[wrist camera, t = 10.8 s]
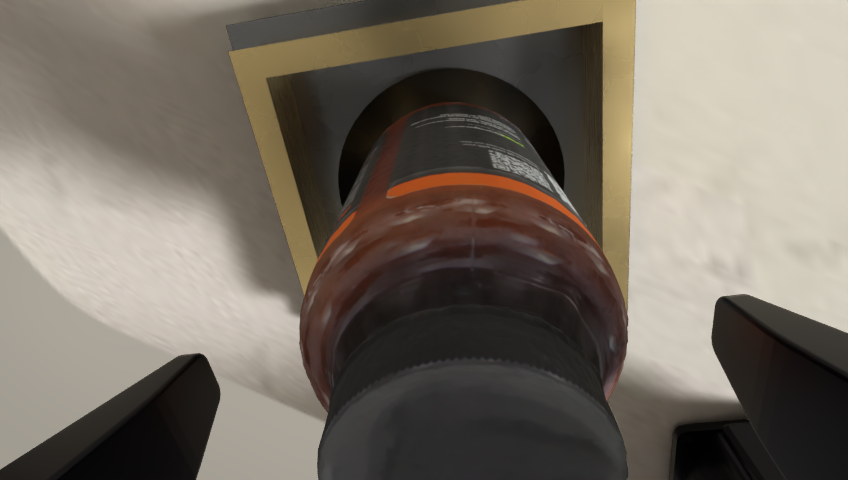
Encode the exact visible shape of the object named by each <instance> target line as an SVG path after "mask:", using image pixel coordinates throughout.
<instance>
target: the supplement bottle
mask: <svg viewBox="0 0 848 480" xmlns="http://www.w3.org/2000/svg"><path fill="white" fill-rule="evenodd" d="M627 326H628V316H627V311H626V308H625V301H624V298H623V295H622V292H621V289H620V286H619V284H618V281H617V279H616V277H615V274H614V272H613V269H612V267H611V266H610V264H609V262H608V260H607V258H606V256H605V255H604V253H603V251H602V250H601V248H600V246H599V245H598V243H597V242H596V241H595V239H594V237H593V235H592V234H591V232H590V231H589V229H588V228H587V226H586V225H585V223H584V222H583V221H582V219H581V218H580V216H579V215H578V213H577V212H576V210H575V209H574V207H573V206H572V204H571V203H570V201H569V200H568V198H567V197H566V195H565V193H564V192H563V190H562V189H561V188H560V186H559V185H558V183H557V182H556V180H555V179H554V177H553V176H552V174H551V173H550V171H549V170H548V168H547V167H546V165H545V164H544V162H543V161H542V159H541V158H540V156H539V155H538V153H537V152H536V150H535V149H534V147H533V146H532V144H531V143H530V141H529V140H528V139H527V138H526V137H525V136H524V135H523V134H522V132H521V131H520V129H519V128H517V127H516V126H515V125H514V124H512V123H511V122H510V121H508V120H507V119H506V118H504V117H503V116H501V115H499V114H497V113H496V112H494V111H491V110H489V109H487V108H484V107H481V106H478V105H474V104H467V103H462V102H442V103H437V104H432V105H428V106H425V107H422V108H420V109H417V110H415V111H413V112H410V113H409V114H407V115H405V116H403V117H402V118H400V119H399V120H398V121H396V122H395V123H394V124H392V125H391V126H390V127H389V128H387V129H386V130H385V132H384V133H383V134H382V135H381V136H380V137H379V139H378V140H377V141H376V143H375V144H374V146H373V148H372V149H371V151H370V152H369V153H368V156H367V158H366V160H365V162H364V164H363V167H362V169H361V171H360V172H359V175H358V176H357V179H356V181H355V183H354V185H353V187H352V189H351V191H350V193H349V195H348V197H347V199H346V201H345V203H344V206H343V208H342V210H341V212H340V214H339V216H338V218H337V220H336V222H335V224H334V226H333V228H332V230H331V231H330V234H329V236H328V238H327V239H326V241H325V244H324V247H323V250H322V251H321V255H320V257H319V258H318V260H317V263H316V265H315V267H314V269H313V272H312V274H311V277H310V279H309V282H308V285H307V288H306V292H305V297H304V300H303V304H302V308H301V314H300V343H299V344H300V349H301V354H302V359H303V366H304V368H305V370H306V374H307V376H308V378H309V380H310V382H311V385H312V387H313V389H314V392H315V394H316V396H317V398H318V399H319V401H320V403H321V404H322V406H323V407H324V408H325V410H326V411H327V412H328V416H327V420H326V424H325V428H324V431H323V434H322V438H321V441H320V445H319V448H318V462H317V466H318V467H317V468H318V478H319V480H626V479H627V478H628V468H627V463H626V449H625V446H624V442H623V439H622V436H621V433H620V431H619V428H618V426H617V423H616V421H615V418H614V416H613V414H612V412H611V409H610V407H609V405H608V403H607V400H608V399H609V397H610V395H611V393H612V391H613V390H614V388H615V385H616V383H617V381H618V379H619V375H620V373H621V371H622V368H623V364H624V360H625V357H626V349H627V342H628V331H627Z"/></svg>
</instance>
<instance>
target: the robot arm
mask: <svg viewBox="0 0 848 480" xmlns="http://www.w3.org/2000/svg"><path fill="white" fill-rule="evenodd" d="M711 339H712V346H713V349H714V352H715V354H716V356H717V358H718V360H719V362H720V364H721V366H722V368H723V370H724V372H725V374H726V376H727V378H728V380H729V382H730V384H731V386H732V388H733V390H734V392H735V394H736V396H737V398H738V400H739V402H740V403H741V405H742V407H743V409H744V411H745V413H746V415H747V417H748V419H749V420H738V421H725V422H713V423H701V424H688V425H682V426H679V427H677V428H676V429H675V430H674V432H673V441H672V452H671V464H670V475H669V480H848V333H846V332H843V331H841V330H838V329H835V328H833V327H830V326H828V325H825V324H822V323H820V322H817V321H815V320H812V319H810V318H807V317H804V316H802V315H799V314H797V313H794V312H791V311H789V310H786V309H784V308H781V307H778V306H776V305H773V304H771V303H768V302H765V301H763V300H760V299H758V298H755V297H753V296H750V295H746V294H740V295H731V296H722V297H720V298H719V299H718V300H717V302H716V305H715V312H714V320H713V328H712V338H711ZM219 401H220V388H219V385H218V383H217V380H216V378H215V375H214V373H213V371H212V369H211V366H210V364H209V362H208V360H207V358H206V357H205V356H204V355H203V354H200V353H196V354H186V355H180V356H178V357H176V358H174V359H173V360H171V361H170V362H168V363H167V364H165V365H164V366H162V367H160V368H159V369H157V370H156V371H154V372H153V373H151V374H149V375H148V376H146V377H145V378H143V379H142V380H140V381H139V382H137V383H135V384H134V385H132V386H131V387H129V388H128V389H126V390H125V391H123V392H121V393H120V394H118V395H116V396H115V397H113V398H112V399H110V400H109V401H107V402H105V403H104V404H102V405H101V406H99V407H98V408H96V409H95V410H93V411H91V412H90V413H88V414H87V415H85V416H84V417H82V418H80V419H79V420H77V421H76V422H74V423H73V424H71V425H69V426H68V427H66V428H65V429H63V430H62V431H60V432H59V433H57V434H55V435H54V436H52V437H51V438H49V439H47V440H46V441H44V442H43V443H41V444H40V445H38V446H36V447H35V448H33V449H32V450H30V451H29V452H27V453H26V454H24V455H23V456H21V457H19V458H18V459H16V460H15V461H13V462H12V463H10V464H8V465H7V466H5V467H4V468H2V469H1V470H0V480H196V478H197V475H198V472H199V468H200V466H201V462H202V459H203V456H204V452H205V449H206V445H207V442H208V439H209V435H210V431H211V428H212V425H213V421H214V418H215V415H216V411H217V408H218V404H219Z"/></svg>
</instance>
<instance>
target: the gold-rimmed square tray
mask: <svg viewBox="0 0 848 480" xmlns="http://www.w3.org/2000/svg"><path fill="white" fill-rule="evenodd" d="M635 19H636V0H365V1H359V2H354V3H348V4H343V5H337V6H332V7H326V8H321V9H315V10H309V11H304V12H298V13H293V14H287V15H282V16H276V17H271V18H265V19H260V20H254V21H249V22H243V23H237V24H232V25H226V28H227V32H228V35H229V38H230V41H231V45H232V48H233V51H230V52H229V56H230V59H231V62H232V65H233V68H234V72H235V75H236V78H237V81H238V84H239V88H240V91H241V94H242V97H243V101H244V104H245V107H246V110H247V113H248V117H249V120H250V123H251V126H252V129H253V133H254V136H255V139H256V142H257V146H258V149H259V152H260V155H261V158H262V162H263V165H264V168H265V171H266V174H267V178H268V181H269V184H270V187H271V190H272V194H273V197H274V200H275V203H276V207H277V210H278V213H279V216H280V219H281V223H282V226H283V229H284V232H285V235H286V239H287V242H288V245H289V248H290V252H291V255H292V258H293V261H294V264H295V268H296V271H297V274H298V277H299V280H300V284H301V287H302V290H303V293H304V296H305V292H306V288H307V285H308V282H309V279H310V277H311V274H312V272H313V269H314V267H315V265H316V263H317V260H318V258H319V257H320V255H321V251H322V250H323V247H324V244H325V241H326V239H327V238H328V236H329V234H330V231H331V230H332V228H333V226H334V224H335V222H336V220H337V218H338V216H339V214H340V212H341V210H342V208H343V206H344V203H345V201H346V199H347V197H348V195H349V193H350V191H351V189H352V187H353V185H354V183H355V181H356V179H357V176H358V175H359V172H360V171H361V169H362V167H363V164H364V162H365V160H366V158H367V156H368V153H369V152H370V151H371V149H372V148H373V146H374V144H375V143H376V141H377V140H378V139H379V137H380V136H381V135H382V134H383V133H384V132H385V130H386V129H387V128H389V127H390V126H391V125H392V124H394V123H395V122H396V121H398V120H399V119H400V118H402V117H403V116H405V115H407V114H409V113H410V112H413V111H415V110H417V109H420V108H422V107H425V106H428V105H432V104H437V103H442V102H462V103H467V104H474V105H478V106H481V107H484V108H487V109H489V110H491V111H494V112H496V113H497V114H499V115H501V116H503V117H504V118H506V119H507V120H508V121H510V122H511V123H512V124H514V125H515V126H516V127H517V128H519V129H520V131H521V132H522V134H523V135H524V136H525V137H526V138H527V139H528V140H529V141H530V143H531V144H532V146H533V147H534V149H535V150H536V152H537V153H538V155H539V156H540V158H541V159H542V161H543V162H544V164H545V165H546V167H547V168H548V170H549V171H550V173H551V174H552V176H553V177H554V179H555V180H556V182H557V183H558V185H559V186H560V188H561V189H562V190H563V192H564V193H565V195H566V197H567V198H568V200H569V201H570V203H571V204H572V206H573V207H574V209H575V210H576V212H577V213H578V215H579V216H580V218H581V219H582V221H583V222H584V223H585V225H586V226H587V228H588V229H589V231H590V232H591V234H592V235H593V237H594V239H595V241H596V242H597V243H598V245H599V246H600V248H601V250H602V251H603V253H604V255H605V256H606V258H607V260H608V262H609V264H610V266H611V267H612V269H613V272H614V274H615V277H616V279H617V281H618V284H619V286H620V289H621V292H622V295H623V298H624V301H625V308H626V311H627V310H628V274H629V238H630V201H631V165H632V128H633V92H634V56H635Z"/></svg>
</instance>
